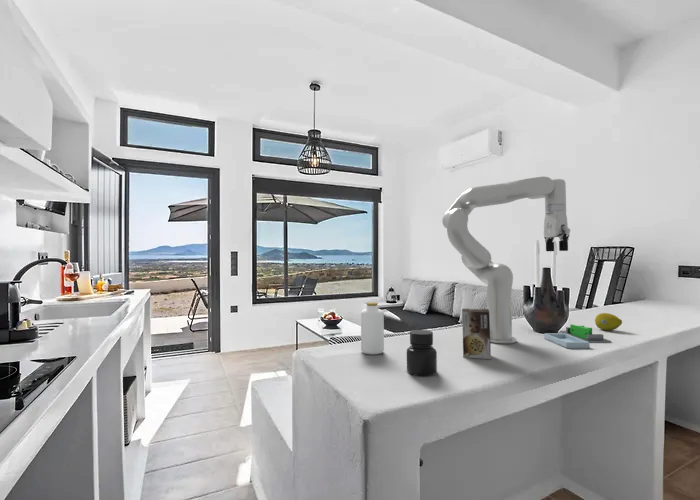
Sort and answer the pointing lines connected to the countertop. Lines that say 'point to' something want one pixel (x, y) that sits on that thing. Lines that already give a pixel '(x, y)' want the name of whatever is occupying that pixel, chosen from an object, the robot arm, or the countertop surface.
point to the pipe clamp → (580, 330)
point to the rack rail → (588, 337)
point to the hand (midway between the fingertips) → (556, 251)
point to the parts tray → (566, 340)
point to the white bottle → (372, 329)
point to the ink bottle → (421, 354)
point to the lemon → (607, 321)
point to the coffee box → (476, 333)
